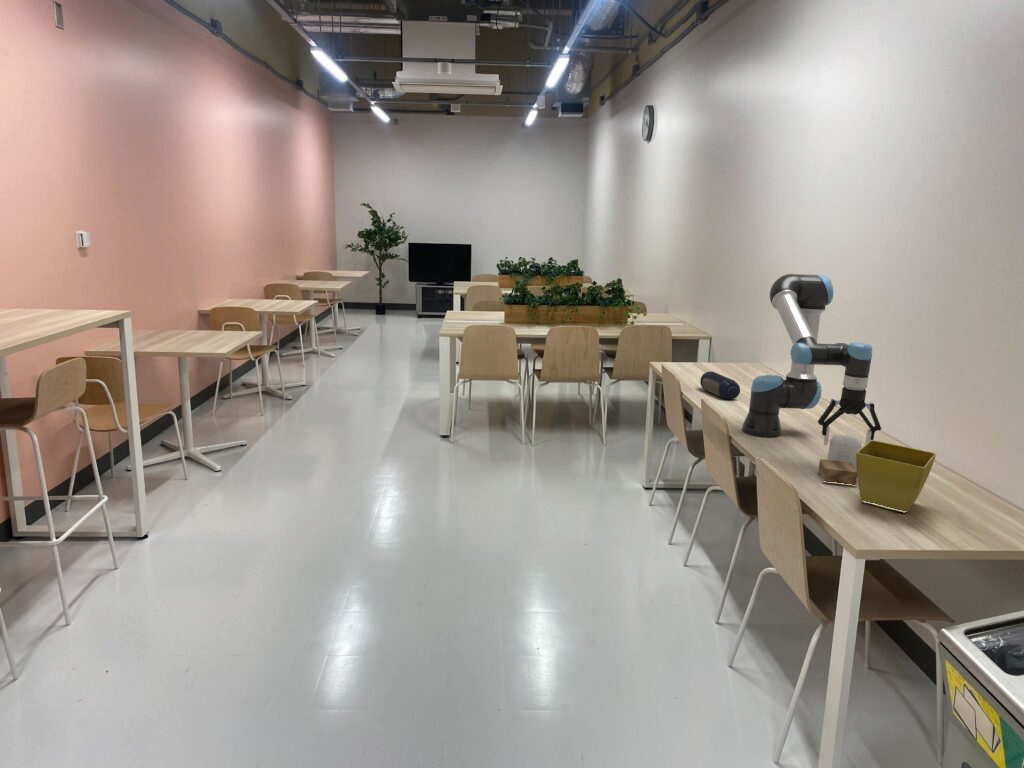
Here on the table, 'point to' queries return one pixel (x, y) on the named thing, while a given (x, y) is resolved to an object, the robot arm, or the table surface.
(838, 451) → the photo printer
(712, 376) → the portable speaker
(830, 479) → the walnut block
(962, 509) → the table surface
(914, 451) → the flower pot
